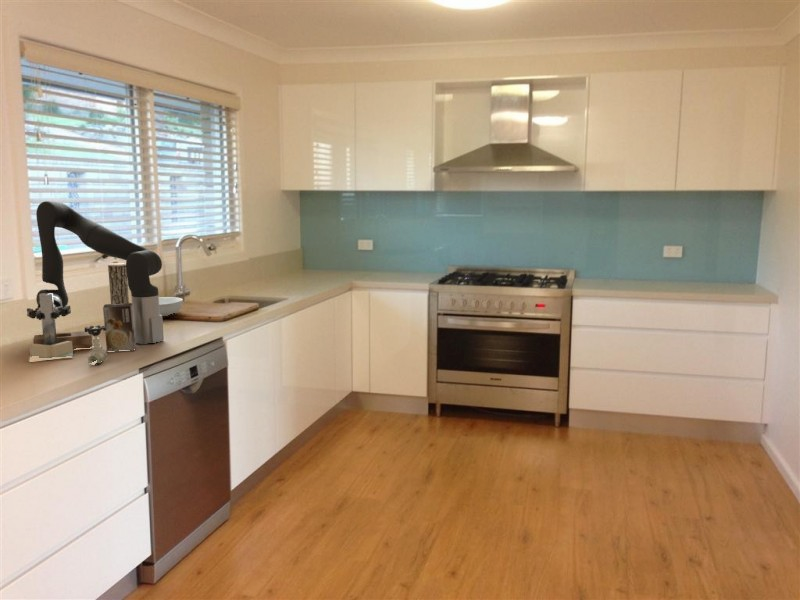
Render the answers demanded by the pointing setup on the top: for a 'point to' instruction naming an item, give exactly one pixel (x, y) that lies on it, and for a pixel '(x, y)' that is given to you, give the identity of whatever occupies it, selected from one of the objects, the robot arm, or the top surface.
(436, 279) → the top surface
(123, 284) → the wooden log
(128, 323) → the coffee box
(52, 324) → the axle
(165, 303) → the serving bowl
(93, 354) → the valve
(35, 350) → the v block
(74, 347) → the wooden block with hole
